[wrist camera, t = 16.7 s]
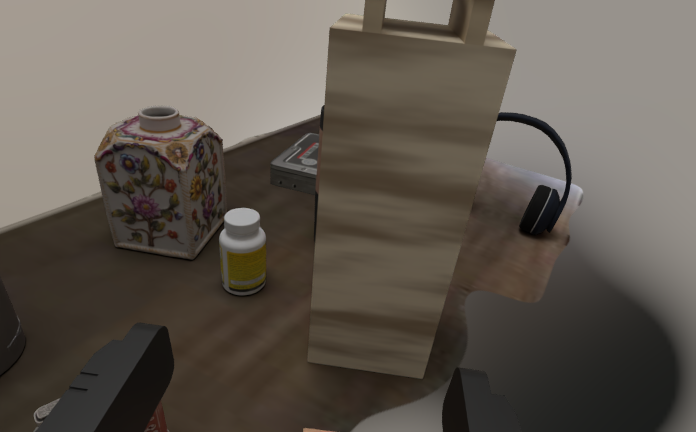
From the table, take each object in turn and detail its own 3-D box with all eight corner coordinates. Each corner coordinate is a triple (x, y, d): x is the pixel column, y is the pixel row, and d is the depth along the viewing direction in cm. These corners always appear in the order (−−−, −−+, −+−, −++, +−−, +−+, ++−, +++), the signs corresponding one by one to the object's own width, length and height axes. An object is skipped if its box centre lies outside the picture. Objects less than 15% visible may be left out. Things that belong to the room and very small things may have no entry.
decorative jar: (229, 218, 66) (223, 104, 56) (195, 262, 56) (180, 132, 46) (157, 206, 66) (138, 92, 57) (110, 248, 57) (79, 117, 47)
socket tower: (422, 378, 43) (544, -49, 24) (307, 362, 44) (336, -72, 24) (418, 310, 52) (505, -45, 33) (321, 297, 52) (351, -61, 33)
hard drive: (413, 221, 71) (418, 198, 69) (268, 185, 77) (268, 163, 75) (429, 178, 86) (433, 158, 84) (307, 151, 92) (308, 132, 90)
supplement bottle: (275, 283, 53) (275, 218, 48) (239, 303, 50) (235, 235, 45) (249, 263, 56) (247, 200, 51) (213, 281, 53) (207, 214, 48)
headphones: (431, 207, 75) (454, 106, 66) (443, 193, 80) (466, 97, 71) (548, 246, 67) (594, 138, 58) (553, 227, 73) (595, 126, 63)
